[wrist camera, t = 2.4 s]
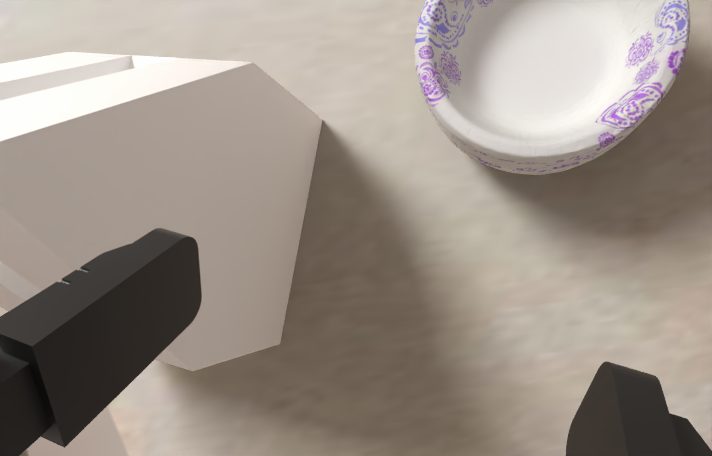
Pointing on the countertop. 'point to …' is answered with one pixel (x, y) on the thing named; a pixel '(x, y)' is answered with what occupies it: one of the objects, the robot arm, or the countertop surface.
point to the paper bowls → (546, 75)
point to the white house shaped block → (157, 182)
